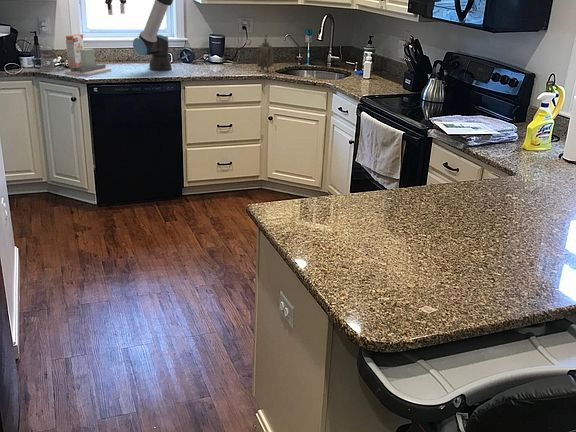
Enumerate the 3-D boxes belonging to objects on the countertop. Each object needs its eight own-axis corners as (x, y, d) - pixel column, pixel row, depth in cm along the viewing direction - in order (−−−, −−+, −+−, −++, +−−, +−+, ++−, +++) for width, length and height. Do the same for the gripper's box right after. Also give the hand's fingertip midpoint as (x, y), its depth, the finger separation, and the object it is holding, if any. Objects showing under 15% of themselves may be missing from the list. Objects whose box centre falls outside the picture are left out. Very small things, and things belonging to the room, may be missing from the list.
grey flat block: (111, 71, 416) (110, 64, 415) (88, 76, 396) (87, 69, 394) (89, 68, 422) (88, 62, 421) (65, 73, 401) (64, 66, 400)
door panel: (95, 69, 412) (94, 48, 407) (86, 71, 404) (85, 50, 399) (90, 68, 413) (88, 48, 408) (81, 70, 405) (80, 49, 400)
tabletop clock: (261, 69, 447) (262, 33, 438) (273, 70, 446) (274, 34, 437) (256, 72, 434) (257, 35, 425) (269, 73, 433) (270, 36, 423)
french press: (39, 69, 410) (35, 30, 401) (57, 68, 416) (54, 29, 406) (41, 71, 402) (37, 31, 393) (60, 71, 408) (56, 31, 398)
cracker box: (76, 68, 420) (73, 36, 412) (67, 67, 421) (64, 35, 413) (85, 65, 433) (83, 34, 425) (77, 64, 434) (74, 33, 426)
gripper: (121, -20, 426) (123, 12, 434) (98, -20, 404) (100, 14, 412) (130, -20, 424) (132, 13, 432) (107, -19, 402) (109, 15, 410)
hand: (116, 14), depth 422 cm, fingers open, 13 cm apart
